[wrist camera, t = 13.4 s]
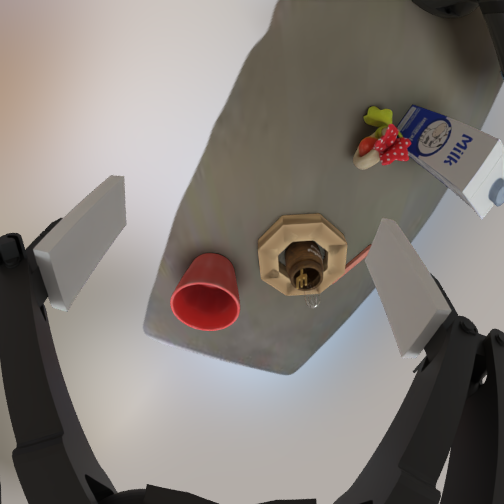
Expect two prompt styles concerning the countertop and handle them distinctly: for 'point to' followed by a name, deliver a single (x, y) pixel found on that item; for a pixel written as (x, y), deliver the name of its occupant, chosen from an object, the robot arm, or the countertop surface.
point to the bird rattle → (381, 141)
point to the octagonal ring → (301, 230)
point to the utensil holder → (304, 266)
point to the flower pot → (207, 294)
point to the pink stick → (356, 260)
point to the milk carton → (457, 156)
